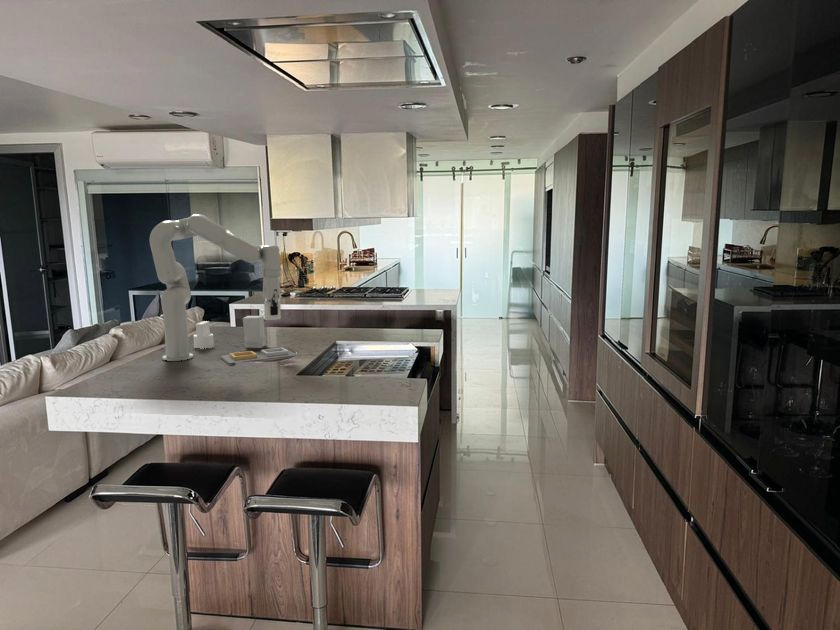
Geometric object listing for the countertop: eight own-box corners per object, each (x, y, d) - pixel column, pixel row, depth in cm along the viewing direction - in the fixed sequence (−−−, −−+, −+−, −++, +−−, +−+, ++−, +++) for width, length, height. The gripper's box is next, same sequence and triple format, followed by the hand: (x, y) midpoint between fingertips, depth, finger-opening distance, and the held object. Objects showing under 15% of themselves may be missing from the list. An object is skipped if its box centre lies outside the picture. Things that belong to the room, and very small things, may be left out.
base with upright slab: (209, 349, 272) (208, 324, 270) (190, 349, 272) (189, 324, 270) (216, 345, 281) (215, 321, 279) (198, 345, 281) (197, 321, 279)
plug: (264, 318, 256) (264, 299, 255) (277, 317, 259) (277, 298, 258) (267, 320, 253) (266, 300, 251) (280, 319, 256) (280, 299, 255)
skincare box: (265, 347, 277) (264, 315, 274) (260, 350, 270) (259, 317, 268) (249, 346, 277) (247, 315, 275) (243, 349, 271) (242, 317, 268)
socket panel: (220, 358, 254) (220, 352, 253) (285, 350, 270) (285, 345, 269) (229, 365, 240) (229, 359, 240) (297, 357, 256) (297, 351, 256)
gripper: (257, 272, 258) (258, 312, 261) (268, 275, 244) (270, 317, 247) (273, 271, 262) (274, 311, 265) (285, 274, 248) (287, 316, 251)
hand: (272, 313), depth 256 cm, fingers closed on plug, 4 cm apart
